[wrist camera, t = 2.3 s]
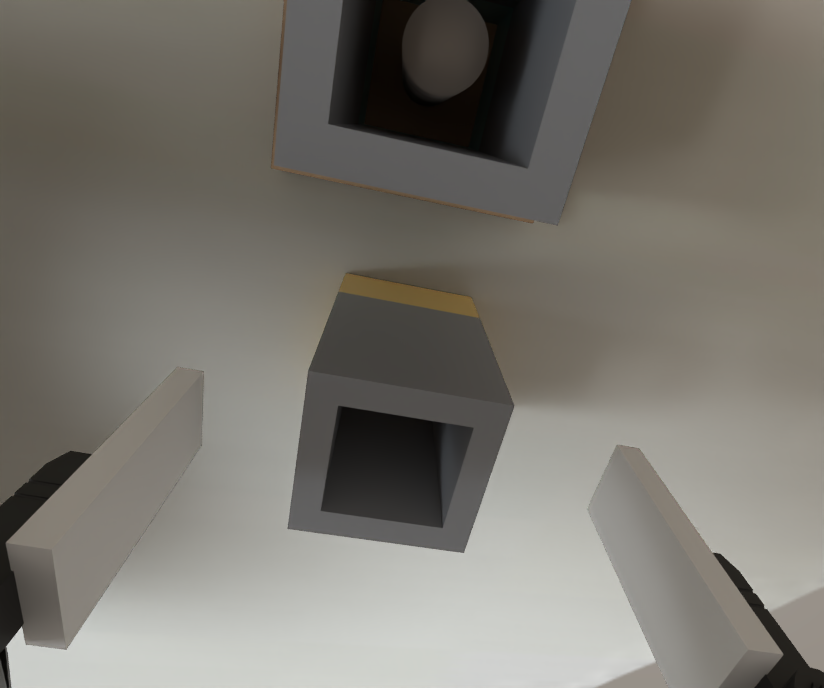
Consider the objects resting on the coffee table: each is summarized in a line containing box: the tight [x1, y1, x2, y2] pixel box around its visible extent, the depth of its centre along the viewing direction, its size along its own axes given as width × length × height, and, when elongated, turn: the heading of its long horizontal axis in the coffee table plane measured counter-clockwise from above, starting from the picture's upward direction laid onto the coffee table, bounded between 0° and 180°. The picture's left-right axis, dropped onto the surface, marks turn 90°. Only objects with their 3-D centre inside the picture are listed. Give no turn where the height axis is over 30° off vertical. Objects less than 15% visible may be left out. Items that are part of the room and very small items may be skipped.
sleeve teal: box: [274, 0, 631, 225], centre depth 12 cm, size 6×6×9 cm
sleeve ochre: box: [288, 273, 514, 553], centre depth 18 cm, size 6×6×9 cm
